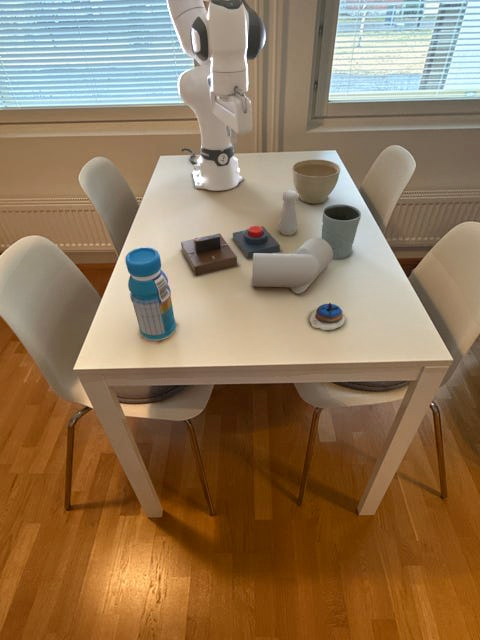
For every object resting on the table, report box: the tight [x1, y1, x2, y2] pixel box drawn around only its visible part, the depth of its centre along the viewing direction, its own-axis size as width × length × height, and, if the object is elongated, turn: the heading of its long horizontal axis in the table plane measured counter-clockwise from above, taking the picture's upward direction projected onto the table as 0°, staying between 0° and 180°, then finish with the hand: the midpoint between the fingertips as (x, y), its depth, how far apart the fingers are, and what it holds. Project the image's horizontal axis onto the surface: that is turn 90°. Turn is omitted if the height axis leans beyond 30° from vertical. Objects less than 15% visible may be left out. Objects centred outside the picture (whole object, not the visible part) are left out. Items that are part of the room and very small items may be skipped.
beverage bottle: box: [124, 246, 177, 342], centre depth 85 cm, size 8×8×20 cm
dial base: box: [180, 233, 238, 277], centre depth 113 cm, size 14×12×3 cm
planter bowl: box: [291, 158, 342, 204], centre depth 138 cm, size 16×16×11 cm
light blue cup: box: [320, 203, 362, 260], centre depth 111 cm, size 10×10×12 cm
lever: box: [193, 233, 221, 253], centre depth 111 cm, size 7×2×4 cm, turn 111°
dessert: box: [309, 302, 346, 331], centre depth 92 cm, size 8×7×6 cm
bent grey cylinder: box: [252, 236, 334, 294], centre depth 102 cm, size 18×11×20 cm
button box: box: [232, 226, 281, 260], centre depth 117 cm, size 12×10×4 cm
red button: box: [248, 225, 263, 237], centre depth 115 cm, size 4×4×2 cm
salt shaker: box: [278, 189, 299, 236], centre depth 119 cm, size 6×6×13 cm
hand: (232, 142), depth 106 cm, fingers closed
